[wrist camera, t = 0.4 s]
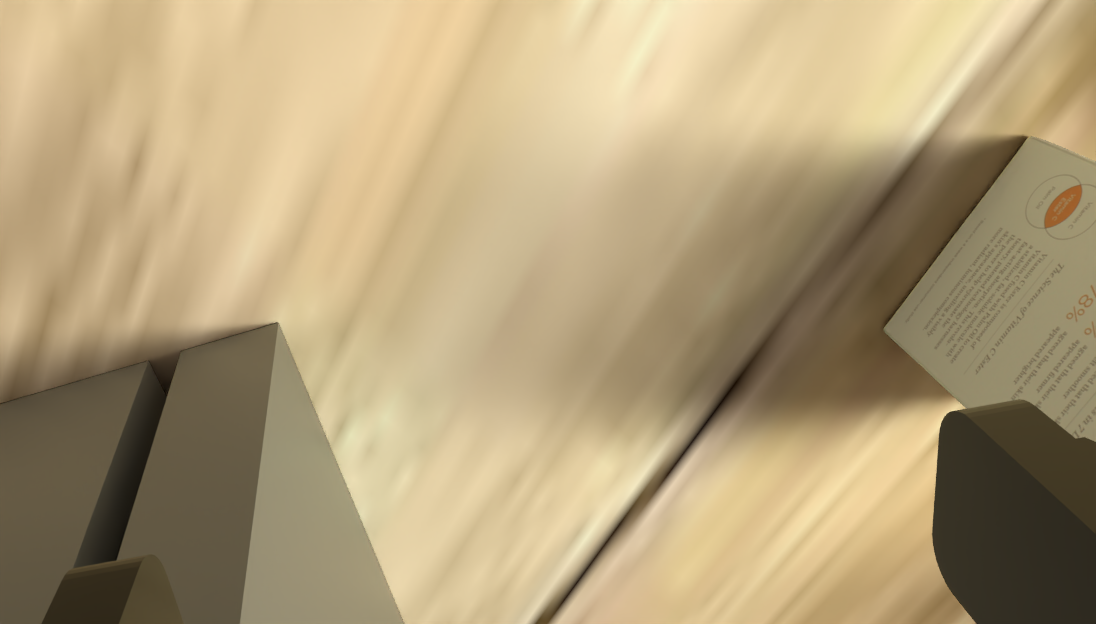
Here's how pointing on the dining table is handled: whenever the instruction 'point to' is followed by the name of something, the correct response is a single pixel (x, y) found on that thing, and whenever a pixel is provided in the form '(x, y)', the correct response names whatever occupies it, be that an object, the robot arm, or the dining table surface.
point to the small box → (1016, 294)
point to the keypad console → (188, 491)
